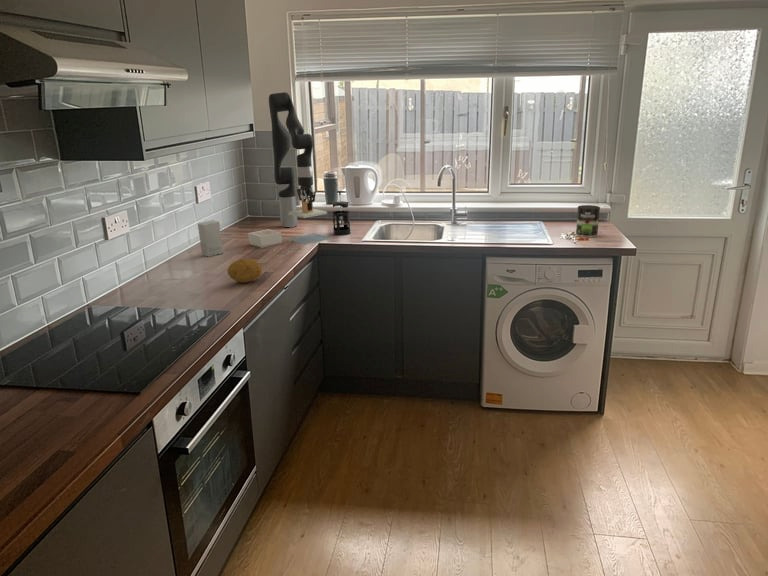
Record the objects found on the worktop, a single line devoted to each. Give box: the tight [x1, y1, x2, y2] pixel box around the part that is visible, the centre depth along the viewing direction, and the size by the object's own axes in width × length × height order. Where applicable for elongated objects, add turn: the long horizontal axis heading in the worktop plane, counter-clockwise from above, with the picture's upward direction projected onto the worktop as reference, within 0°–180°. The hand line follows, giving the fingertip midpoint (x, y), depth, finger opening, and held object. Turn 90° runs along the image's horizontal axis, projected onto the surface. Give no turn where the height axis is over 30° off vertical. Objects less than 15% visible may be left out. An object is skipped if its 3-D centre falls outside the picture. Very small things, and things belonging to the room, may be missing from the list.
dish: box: [247, 229, 283, 249], centre depth 287 cm, size 12×12×6 cm
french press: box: [331, 190, 352, 237], centre depth 302 cm, size 12×9×23 cm
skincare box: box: [197, 220, 224, 258], centre depth 269 cm, size 8×7×16 cm
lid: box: [288, 201, 328, 219], centre depth 291 cm, size 14×14×6 cm
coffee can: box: [575, 204, 601, 238], centre depth 283 cm, size 10×10×14 cm
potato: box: [227, 258, 262, 284], centre depth 225 cm, size 10×13×9 cm
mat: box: [285, 233, 334, 245], centre depth 296 cm, size 18×18×1 cm
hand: (307, 209), depth 291 cm, fingers closed on lid, 4 cm apart
